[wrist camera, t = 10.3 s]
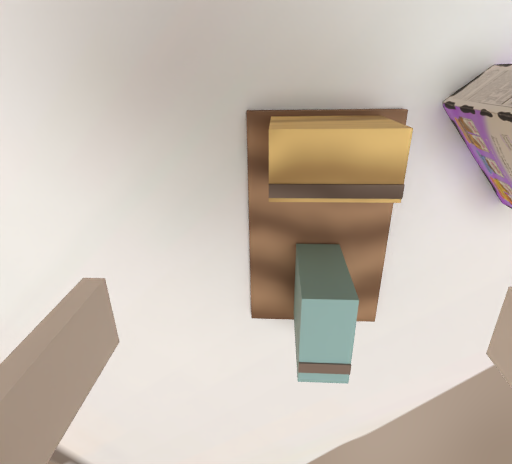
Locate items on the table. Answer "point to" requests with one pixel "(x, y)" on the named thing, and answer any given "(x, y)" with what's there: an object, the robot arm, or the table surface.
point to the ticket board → (322, 196)
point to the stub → (323, 314)
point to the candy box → (487, 125)
